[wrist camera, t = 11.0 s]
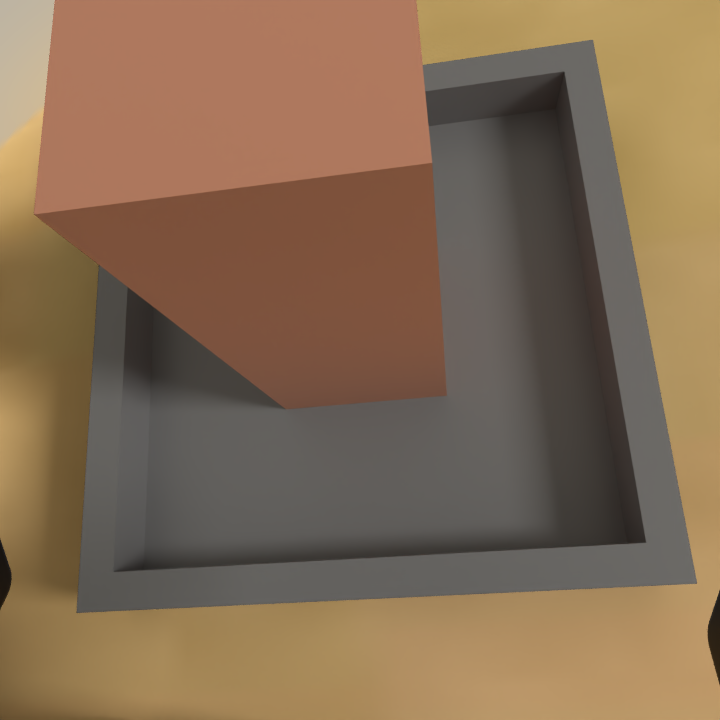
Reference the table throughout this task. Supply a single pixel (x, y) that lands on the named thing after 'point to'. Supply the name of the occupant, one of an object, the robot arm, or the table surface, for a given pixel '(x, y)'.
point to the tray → (415, 400)
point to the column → (256, 183)
